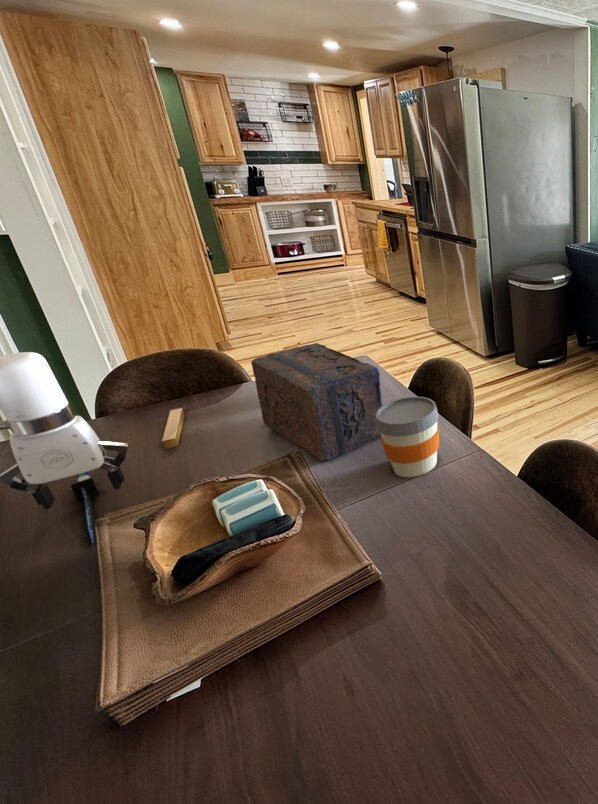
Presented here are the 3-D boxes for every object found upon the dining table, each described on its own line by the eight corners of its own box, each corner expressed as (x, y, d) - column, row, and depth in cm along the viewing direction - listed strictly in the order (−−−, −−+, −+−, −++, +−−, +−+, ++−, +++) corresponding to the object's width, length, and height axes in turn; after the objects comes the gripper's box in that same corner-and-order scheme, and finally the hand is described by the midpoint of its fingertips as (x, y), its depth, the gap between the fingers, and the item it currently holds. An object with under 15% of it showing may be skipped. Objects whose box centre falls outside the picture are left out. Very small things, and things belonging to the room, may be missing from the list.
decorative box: (328, 405, 135) (250, 430, 118) (321, 337, 129) (238, 354, 112) (400, 436, 121) (323, 470, 104) (396, 362, 115) (314, 385, 98)
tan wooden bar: (164, 449, 112) (161, 441, 111) (173, 417, 126) (170, 410, 125) (177, 445, 114) (174, 438, 113) (184, 414, 127) (182, 407, 126)
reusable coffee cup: (396, 493, 98) (384, 431, 93) (378, 465, 107) (366, 407, 102) (454, 470, 106) (446, 411, 100) (432, 445, 115) (424, 390, 109)
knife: (80, 471, 102) (71, 454, 100) (100, 465, 104) (91, 449, 102) (78, 564, 83) (67, 547, 81) (102, 555, 85) (92, 538, 83)
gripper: (-39, 445, 78) (13, 525, 85) (104, 414, 87) (141, 488, 94) (-21, 425, 83) (27, 501, 90) (112, 397, 92) (147, 469, 99)
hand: (85, 494), depth 92 cm, fingers open, 9 cm apart
